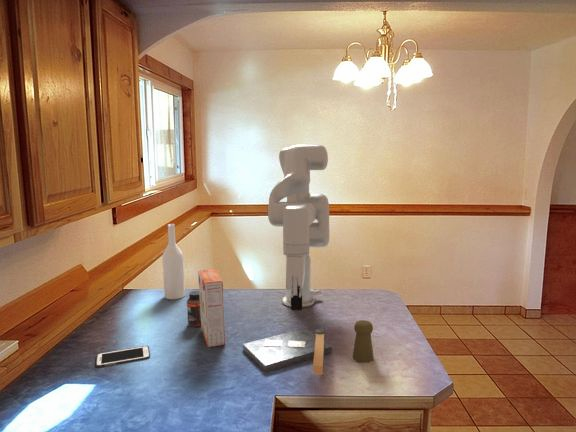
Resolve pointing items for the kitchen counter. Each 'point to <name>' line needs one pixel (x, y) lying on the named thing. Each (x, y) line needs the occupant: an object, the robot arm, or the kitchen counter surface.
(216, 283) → the cracker box
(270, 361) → the plate
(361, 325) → the cork
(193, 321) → the supplement bottle
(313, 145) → the robot arm
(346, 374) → the kitchen counter surface
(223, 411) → the kitchen counter surface
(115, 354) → the cell phone
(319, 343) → the wooden bar
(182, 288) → the bottle
